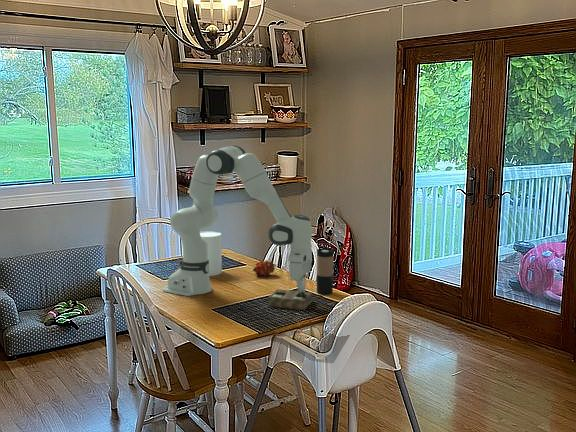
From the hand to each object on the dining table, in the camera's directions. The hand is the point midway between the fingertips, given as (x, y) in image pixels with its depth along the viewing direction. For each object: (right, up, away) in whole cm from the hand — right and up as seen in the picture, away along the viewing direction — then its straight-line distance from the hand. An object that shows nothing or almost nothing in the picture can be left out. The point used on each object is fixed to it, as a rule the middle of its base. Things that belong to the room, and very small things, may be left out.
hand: (301, 285), depth 258 cm
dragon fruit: (-18, -1, +47) cm, 50 cm away
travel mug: (+11, -6, +19) cm, 23 cm away
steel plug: (0, -5, +1) cm, 5 cm away
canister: (-46, 0, +52) cm, 70 cm away
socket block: (-5, -8, +3) cm, 10 cm away
